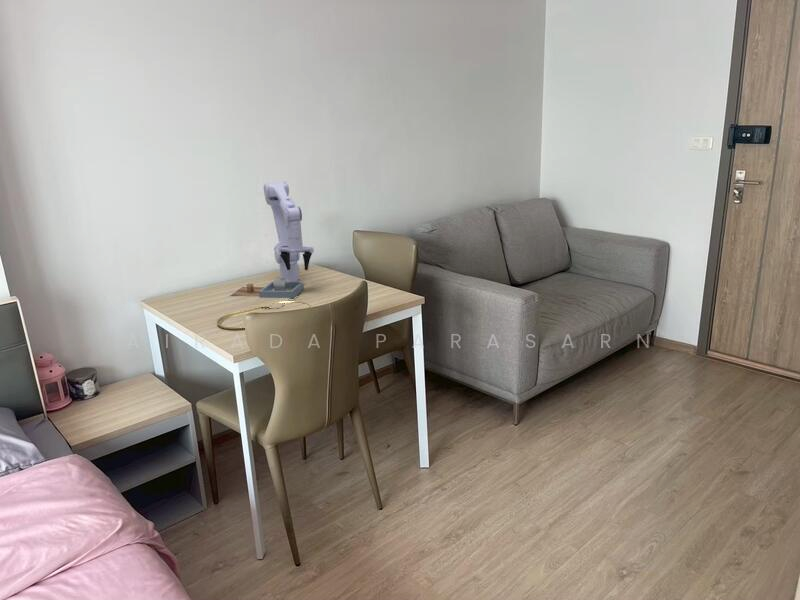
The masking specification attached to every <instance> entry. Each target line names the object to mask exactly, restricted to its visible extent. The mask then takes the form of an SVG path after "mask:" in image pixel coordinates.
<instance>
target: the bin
mask: <svg viewBox="0 0 800 600" xmlns="http://www.w3.org/2000/svg"><path fill="white" fill-rule="evenodd" d="M263 287H264V288H263V289H261V290H260V291H259V296H258V297H259V298H262V299H263V298H266V299H267V298H269V299H270V298H276V299H278V298H279V299H280V298H281V299H286V298H287V299H294V298H295V297H296V296H297V297H298V296H300V294H302V293H301V292H302V291H303V290H304V291H305V287H304V281H296V282H289V289H291V290H290V291H274V285H273V281H271V282H269V283H268V284H267V285H265V286H263ZM304 291H303V292H304ZM297 297H296V298H297ZM296 298H295V299H296ZM295 299H294V300H295Z"/></svg>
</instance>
